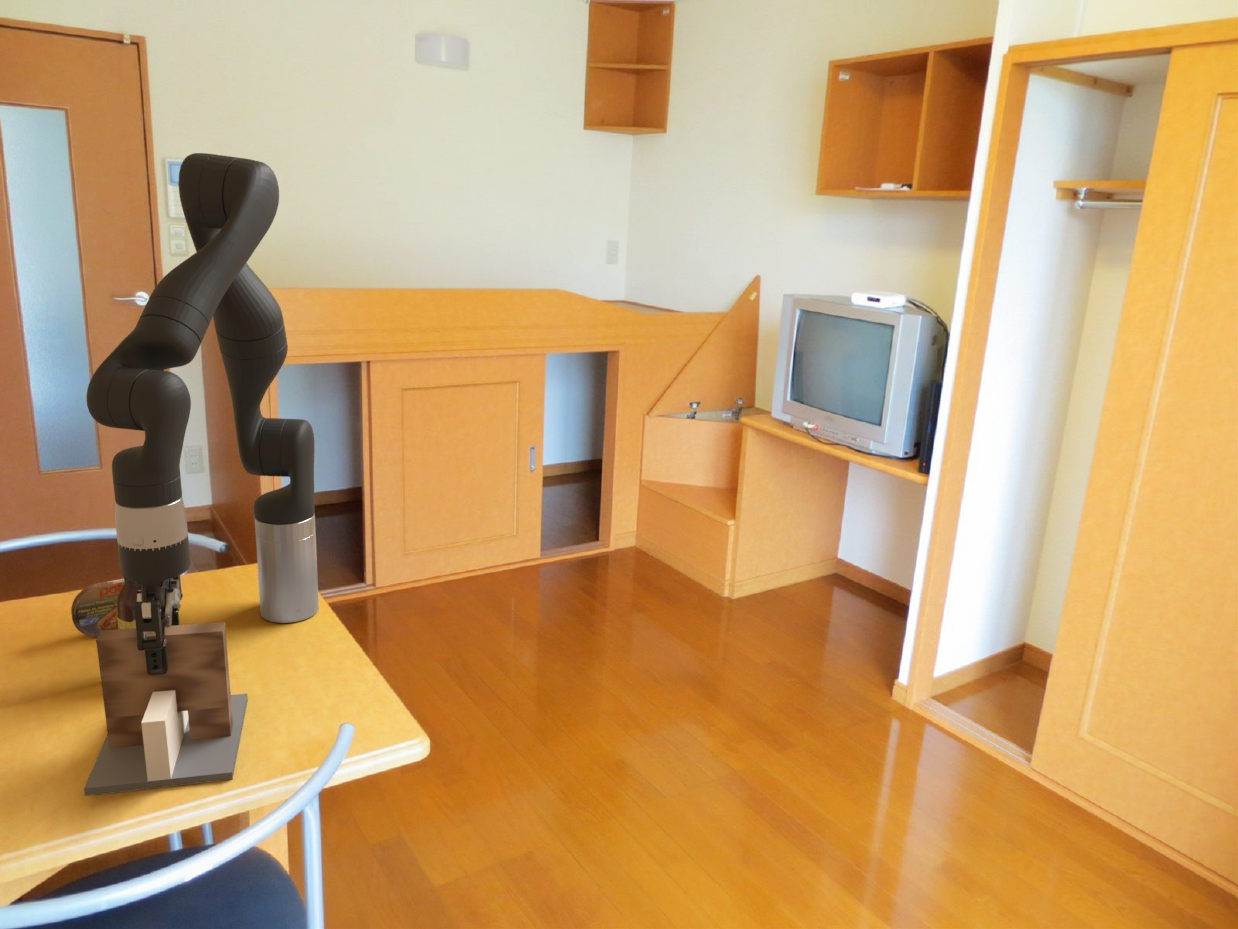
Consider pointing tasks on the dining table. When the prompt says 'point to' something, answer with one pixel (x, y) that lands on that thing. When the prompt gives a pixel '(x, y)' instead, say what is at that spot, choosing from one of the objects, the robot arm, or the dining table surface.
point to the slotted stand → (167, 751)
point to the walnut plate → (166, 681)
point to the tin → (97, 608)
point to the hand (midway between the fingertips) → (164, 655)
